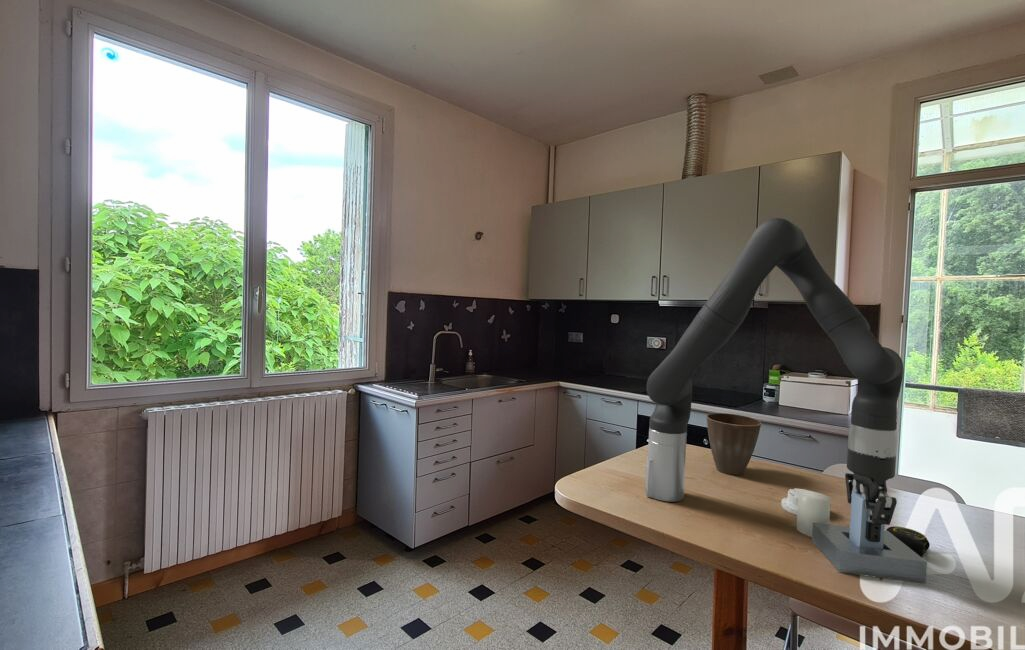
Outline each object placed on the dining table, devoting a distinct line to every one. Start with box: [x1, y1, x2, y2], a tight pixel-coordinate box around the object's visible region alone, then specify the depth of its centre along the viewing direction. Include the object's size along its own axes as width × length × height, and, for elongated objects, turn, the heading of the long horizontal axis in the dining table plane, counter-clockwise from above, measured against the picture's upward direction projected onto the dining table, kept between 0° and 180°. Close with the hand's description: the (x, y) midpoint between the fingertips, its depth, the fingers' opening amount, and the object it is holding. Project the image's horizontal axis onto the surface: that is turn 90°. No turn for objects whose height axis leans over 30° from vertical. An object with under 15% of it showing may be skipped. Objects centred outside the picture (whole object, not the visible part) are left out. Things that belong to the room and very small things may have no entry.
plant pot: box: [706, 412, 762, 476], centre depth 141 cm, size 15×15×16 cm
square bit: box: [849, 491, 886, 549], centre depth 92 cm, size 4×4×11 cm
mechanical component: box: [780, 487, 809, 516], centre depth 115 cm, size 10×4×10 cm
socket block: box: [811, 523, 928, 584], centre depth 92 cm, size 14×12×4 cm
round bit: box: [795, 490, 832, 538], centre depth 104 cm, size 6×6×8 cm
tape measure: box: [885, 525, 931, 558], centre depth 97 cm, size 7×7×4 cm
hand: (866, 535), depth 92 cm, fingers closed on square bit, 4 cm apart
